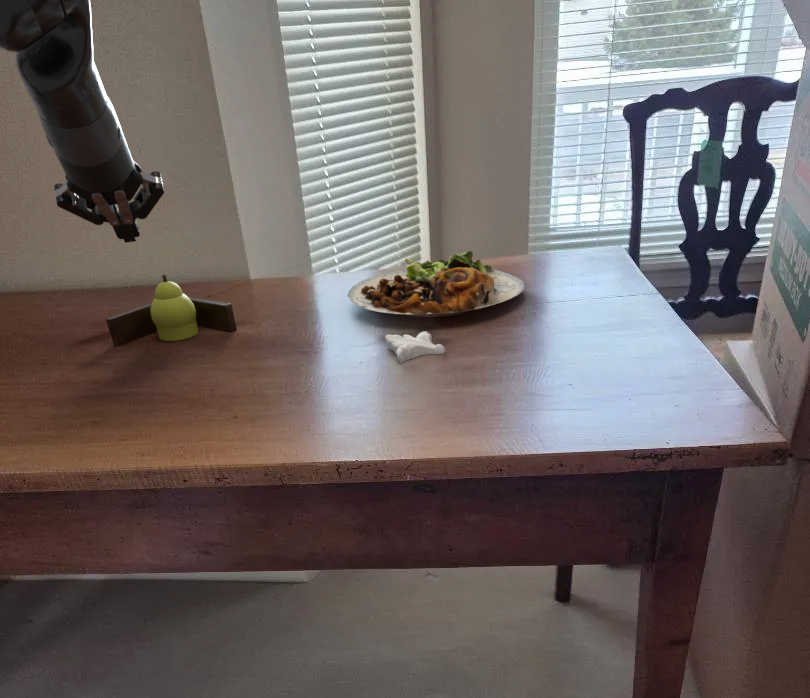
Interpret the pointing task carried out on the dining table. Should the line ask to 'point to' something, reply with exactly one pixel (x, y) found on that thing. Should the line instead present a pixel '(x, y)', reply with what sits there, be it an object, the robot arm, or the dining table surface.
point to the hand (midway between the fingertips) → (129, 236)
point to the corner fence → (142, 324)
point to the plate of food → (436, 288)
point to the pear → (173, 312)
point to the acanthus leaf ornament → (413, 346)
